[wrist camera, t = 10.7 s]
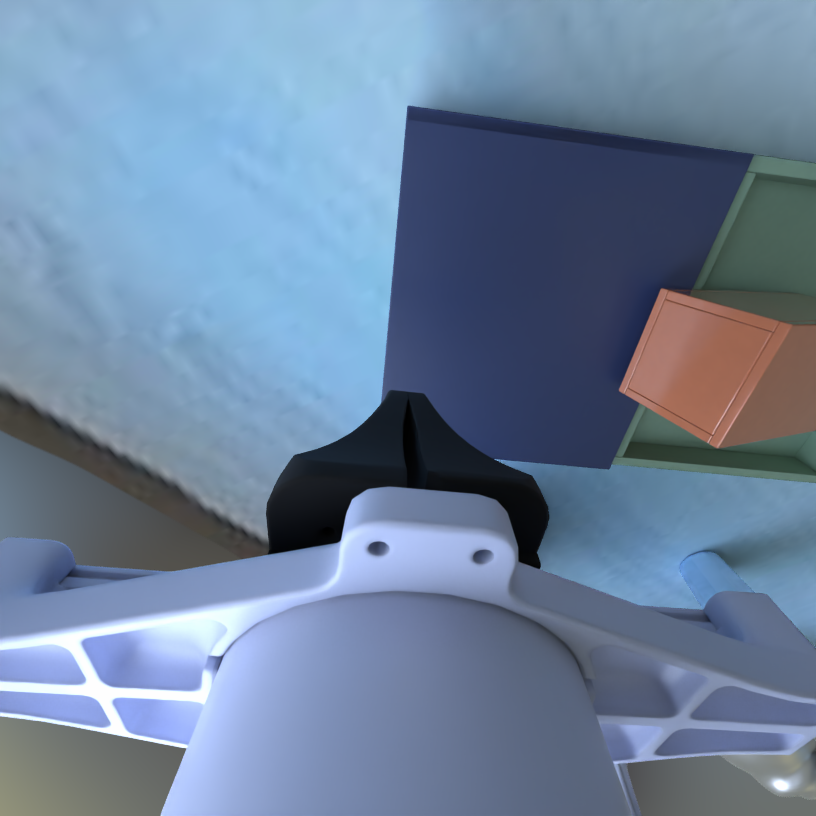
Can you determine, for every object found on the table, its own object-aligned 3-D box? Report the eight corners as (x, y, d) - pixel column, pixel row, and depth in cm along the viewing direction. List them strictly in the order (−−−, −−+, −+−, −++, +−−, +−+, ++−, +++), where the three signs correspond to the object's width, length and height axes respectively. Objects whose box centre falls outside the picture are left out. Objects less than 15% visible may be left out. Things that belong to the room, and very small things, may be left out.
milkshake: (674, 543, 31) (779, 681, 22) (739, 546, 31) (869, 685, 22) (652, 580, 33) (741, 719, 24) (713, 582, 33) (822, 722, 24)
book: (587, 439, 26) (609, 469, 23) (380, 420, 25) (377, 448, 22) (702, 159, 18) (755, 154, 15) (407, 119, 17) (407, 105, 15)
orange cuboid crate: (617, 390, 20) (717, 449, 16) (660, 287, 17) (793, 324, 13) (742, 379, 23) (850, 424, 19) (793, 292, 21) (931, 322, 16)
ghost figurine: (685, 694, 42) (757, 824, 34) (653, 657, 39) (724, 792, 30) (773, 667, 40) (875, 800, 31) (747, 624, 36) (855, 762, 27)
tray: (790, 460, 27) (824, 484, 25) (592, 441, 26) (609, 464, 24) (985, 196, 19) (1061, 197, 17) (711, 158, 18) (752, 154, 16)
